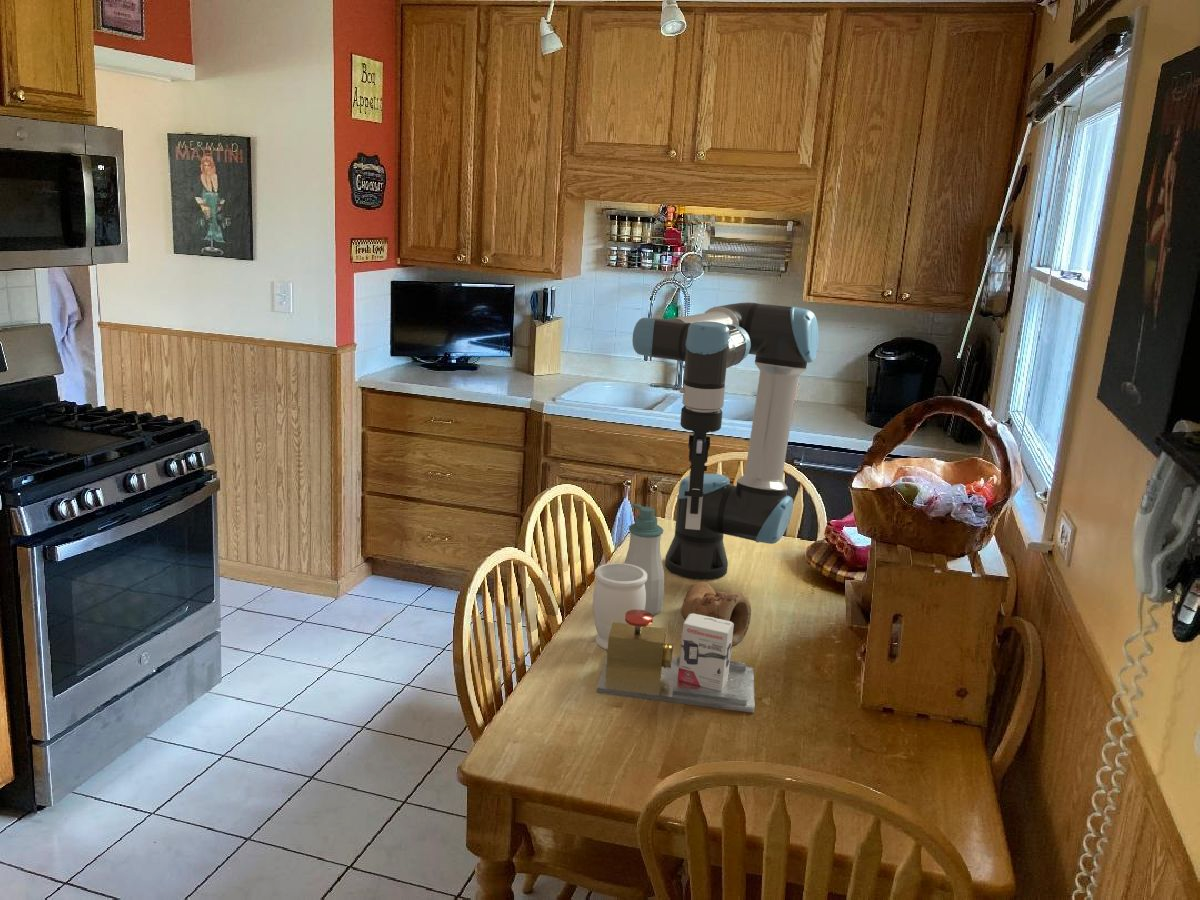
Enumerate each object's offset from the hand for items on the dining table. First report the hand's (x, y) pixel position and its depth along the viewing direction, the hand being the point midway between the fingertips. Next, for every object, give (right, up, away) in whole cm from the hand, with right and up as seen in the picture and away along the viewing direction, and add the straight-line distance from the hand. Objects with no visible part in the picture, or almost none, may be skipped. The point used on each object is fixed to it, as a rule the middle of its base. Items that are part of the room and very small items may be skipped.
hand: (693, 515), depth 179 cm
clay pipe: (+6, -25, +18) cm, 31 cm away
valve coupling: (-3, -30, -5) cm, 31 cm away
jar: (-15, -26, +9) cm, 31 cm away
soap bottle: (-9, -22, +25) cm, 35 cm away
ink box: (+1, -30, -6) cm, 31 cm away
